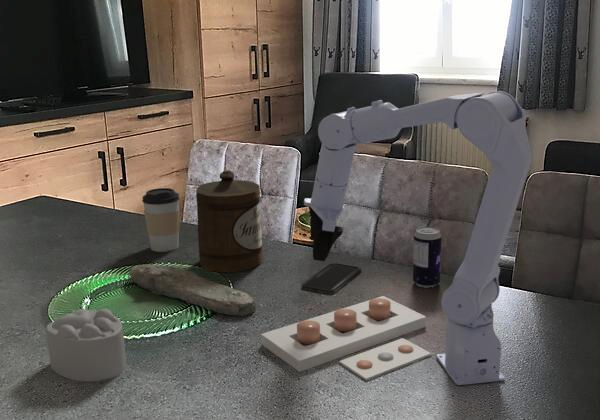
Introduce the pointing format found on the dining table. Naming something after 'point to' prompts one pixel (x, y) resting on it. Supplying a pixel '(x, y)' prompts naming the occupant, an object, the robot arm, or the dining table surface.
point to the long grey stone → (192, 289)
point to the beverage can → (427, 257)
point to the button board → (341, 335)
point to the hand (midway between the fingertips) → (317, 249)
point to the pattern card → (384, 359)
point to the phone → (331, 278)
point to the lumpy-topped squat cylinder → (87, 345)
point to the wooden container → (229, 224)
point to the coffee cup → (162, 218)
